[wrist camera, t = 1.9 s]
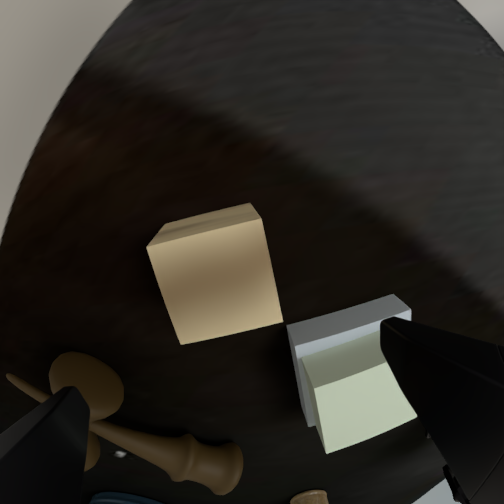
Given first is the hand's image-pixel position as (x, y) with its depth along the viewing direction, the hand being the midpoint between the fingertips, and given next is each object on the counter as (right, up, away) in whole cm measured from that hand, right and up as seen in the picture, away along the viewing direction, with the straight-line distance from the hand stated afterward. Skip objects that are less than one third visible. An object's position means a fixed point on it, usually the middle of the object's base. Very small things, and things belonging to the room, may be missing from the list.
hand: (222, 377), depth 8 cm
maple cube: (-1, +3, +11) cm, 11 cm away
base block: (+8, -4, +14) cm, 17 cm away
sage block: (+8, -5, +11) cm, 15 cm away
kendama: (-10, -10, +14) cm, 20 cm away
